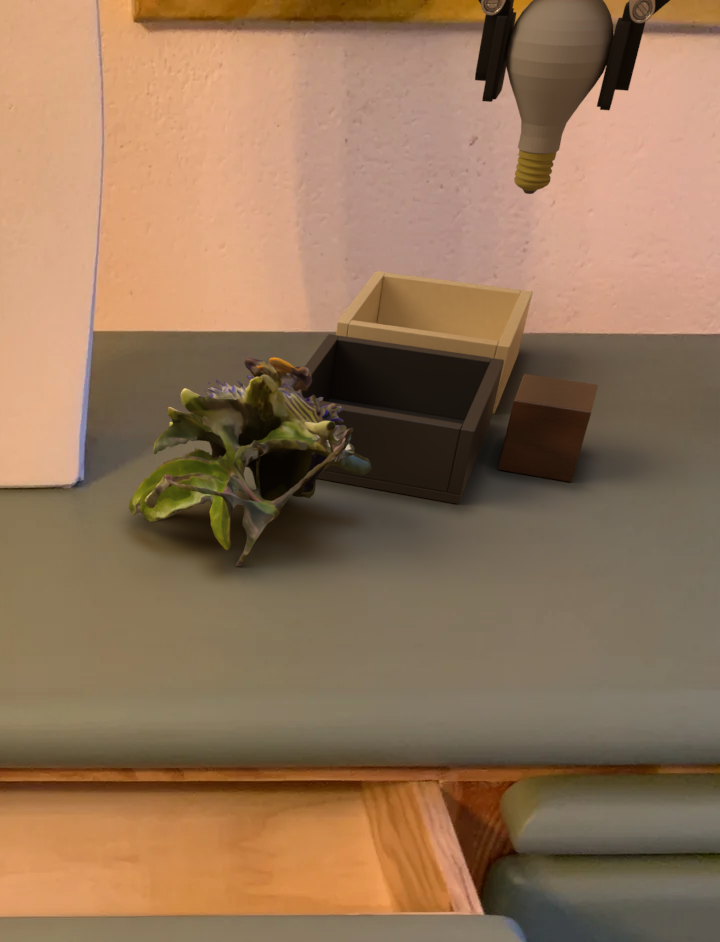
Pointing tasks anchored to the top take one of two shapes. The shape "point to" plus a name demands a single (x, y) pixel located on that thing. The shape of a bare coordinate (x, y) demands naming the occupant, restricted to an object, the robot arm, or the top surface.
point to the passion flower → (248, 450)
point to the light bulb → (553, 75)
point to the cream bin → (440, 317)
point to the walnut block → (547, 427)
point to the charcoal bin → (407, 412)
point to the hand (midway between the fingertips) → (548, 97)
